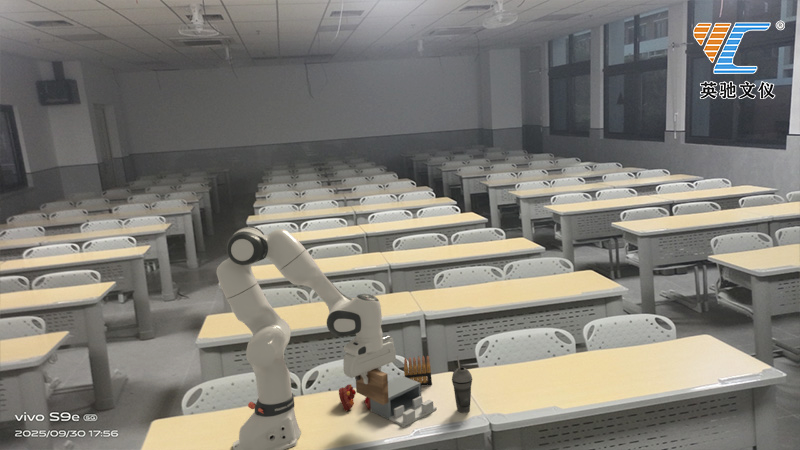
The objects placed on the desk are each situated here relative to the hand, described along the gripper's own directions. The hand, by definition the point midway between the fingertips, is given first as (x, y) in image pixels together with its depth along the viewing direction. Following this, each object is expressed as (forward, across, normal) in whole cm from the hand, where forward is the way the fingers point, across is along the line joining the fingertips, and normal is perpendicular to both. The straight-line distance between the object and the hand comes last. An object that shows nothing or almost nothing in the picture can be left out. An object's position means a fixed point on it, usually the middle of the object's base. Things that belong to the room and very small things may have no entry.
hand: (371, 381), depth 200 cm
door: (+6, 0, 0) cm, 6 cm away
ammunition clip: (+16, -33, -11) cm, 38 cm away
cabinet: (+16, -15, -1) cm, 22 cm away
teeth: (+17, -8, -17) cm, 25 cm away
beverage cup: (+16, -29, +16) cm, 36 cm away
